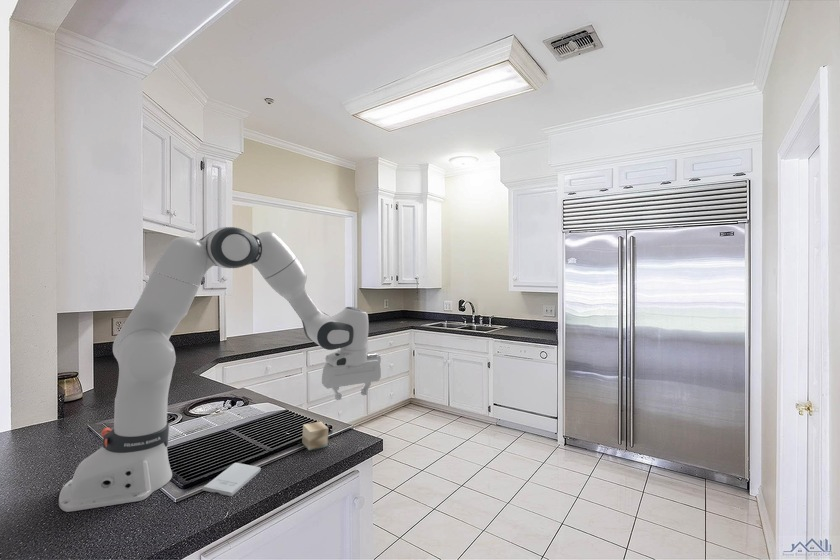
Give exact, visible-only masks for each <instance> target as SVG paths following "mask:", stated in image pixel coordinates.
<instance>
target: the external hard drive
mask: <svg viewBox="0 0 840 560" xmlns="http://www.w3.org/2000/svg"><path fill="white" fill-rule="evenodd" d="M261 469H262V468H261V467H260V466H256V465H251V464H250V465H249V464H245V463H241V462H234V463H232V464H231V465H230V466H229V467H227V468H225V470H223V471H222V472H221V473H220V474H218V475H217V476H216V477H214V478H213V479H212V480H210V481H209V482H208V483H207V484H205V485H204V486H203V487H202V491H205V492H210V493H217V494H219V495H224V496H227V497H228V496H229V497H233V496H234V495H235V494H236V493H237V492H238V491H239V490H240V489H242V488H243V487H245V485H246V484H248V483H249V482H250V481H251V480H252V479H254V477H256V476H257V475H258V474H259V473H260V472H261Z"/></svg>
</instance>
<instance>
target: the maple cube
mask: <svg viewBox="0 0 840 560" xmlns="http://www.w3.org/2000/svg"><path fill="white" fill-rule="evenodd" d="M301 439H302V440H301V443H302V445H303V446H304V445H305V446H304V447H305V448H306V449H307V450H308V451H314V450H319V449H324V448H327V447H328V443H329V427H327V426H326V424H325V423H324V422H322V421H316V422H315V421H314V422H311V423H304V424H302V438H301Z"/></svg>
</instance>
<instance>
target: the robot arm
mask: <svg viewBox="0 0 840 560" xmlns="http://www.w3.org/2000/svg"><path fill="white" fill-rule="evenodd" d="M248 265H252V266H253V267H254V268H255V269H256V270H257V271H258V272H259V273H260V275H261V276H262V278H263V279H264V280H265V281H266V283H267V284H268V285H269V286H270V287H271V288H272V289H273V291H275V292H276V293H278V295H280V296H281V297H283V298H284V299H285V300H286V301H287V302H288V303H289V305H290V306H291V307H292V309H293V310H294V311H295V313H296V314H297V316H298V317H299V318H300V319H301V322H302V326H303V327H302V328H303V332H304V334H305V336H306V338H307V339H308V340H310V341H311V342H313V343H315V344H316V345H318V346H319V347H321V348H322V349H325V350H328V351H332V350H336V351H333V352H332V353H329V354H327V355H325V358H324V359H325V362H326V363H325V365H324V366H323V369H322V375H321V384H322V386H323V387H324V388H325V389H328V390H329V389H332V390H333V393H334V399H335V400H336V401H340V400H342V396H343V395H342V394H341V393H340V392H339V390H340V388H342V387H347V386H354V385H361V384H364V386H363V388H361V389H360V394H361V395H362V396H367V395H368V391H369V388H370V387H371V384H372V383H373V382H378V381H380V379H381V378H382V371H381V369H382V368H381V361H382V358H381V355H379V354H378V353H373V354H368V343H367V341H368V337H369V329H370V328H369V323H370V322H369V315H368V312H366V311H365V310H364V309H362V308H358V307H355V306H345V308H344V309H343V310H341V311H340V312H338V313H337V314H335V315H332V316H330V315H328V314H326V313H325V312H323V311H321V310H320V309H319V308H318V307H317V305H316V304H315V302H314V301H313V299H312V298H311V297H310V295H309V294H308V291H307V290H306V288H305V286H306V283H307V273H306V271H305V269H304V267H303V265H302V263H301V261H300V260H299V258H298V257H297V255H295V253H294V252H293V250H291V248H290V247H289V246H288V244H287V243H286V242H285V241H284V240H283V239H282V238H281V237H280V236H278V234H276V233H275V232H272V231H262V232H260V233H257V234H256V235H255V234H253V233H251V232H249V231H247V230H246V229H245V230H244V229H242V228H239V227H235V226H234V227H233V226H231V227H230V226H223V227H219V228H216V229H215V230H212V231H210V232H209V233H208V234H206V235H204V236H203V237H202V238H200V239H196V238H193V237H189V236H188V237H187V236H179V237H178V236H177V237H176V238H174V239H172V240H171V241H170V242H169V243H168V245H167V246H166V247H165V249H164V251H163V252H162V254H161V255H160V257H159V258H158V260H157V261H156V263H155V265H154V268H153V270H152V271H151V274H150V275H149V277H148V280H147V282H146V284H145V287H144V288H143V291H142V293H141V295H140V297H139V299H138V301H137V303H136V304H135V306H134V307H133V309H132V310H131V312H130V314H129V315H128V316H127V318H126V319H125V321H124V323H123V325H122V327H121V328H120V331H119V332H118V334H116V336H115V338H114V341H113V343H112V354H113V356H114V358H115V359H116V361H117V364H118V379H117V381H118V382H117V389H116V394H115V398H114V411H113V412H114V417H113V419H114V421H113V429H112V428H110V427H105V428H103V429H102V430H101V433H100V434H101V437H102V447H99V449H97V450H96V451H94V452H93V453H91V454H90V455H89V456H87V457H86V458H85V459H83V460H82V461H81V462H80V463H79V464H78V466H77V467H76V469H75V471H74V474H73V476H72V479H70V480H69V481H67V482H66V483H65V484H64V485H63V486H62V488H61V490H60V492H59V495H58V506H59V508H60V509H61V511H64V512H67V513H68V512H70V513H71V512H77V511H83V510H89V509H96V508H101V507H107V506H114V505H122V504H126V503H127V504H129V503H134V502H140V501H143V500H145V499H147V498H148V497H149V496H150V495H151V494H152V493H154V492H156V491H157V490H159V489H160V488H162V487H164V486H165V485H166V484H168V483H169V482H170V480H172V478H173V472H172V469H171V465H170V461H169V454H168V453H169V451H168V445H169V439H170V426H169V423H168V403H169V402H168V401H169V399H168V398H169V392H170V387H171V386H170V385H171V383H172V382H171V381H172V376H173V371H174V367H175V365H176V361H177V360H176V359H177V357H176V356H177V355H176V351H175V347H174V345H173V344H172V342H171V341H170V338H171V336H172V334H173V333H174V331H175V330H176V329H177V327H178V325H179V324H180V322H181V321H182V320H183V319H184V318H185V317H186V316H187V315H188V312H189V310H190V308H191V305H192V304H193V301H194V299H195V297H196V294H197V292H198V290H199V287H200V285H201V283H202V281H203V278H204V276H205V275H206V273H207V271H208V270H210V269H211V268H212V267H214V266H215V267H220V268H223V269H239V268H243V267H245V266H248Z"/></svg>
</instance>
